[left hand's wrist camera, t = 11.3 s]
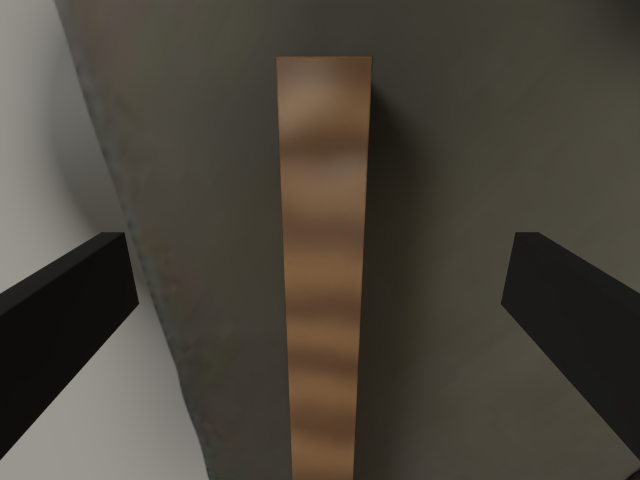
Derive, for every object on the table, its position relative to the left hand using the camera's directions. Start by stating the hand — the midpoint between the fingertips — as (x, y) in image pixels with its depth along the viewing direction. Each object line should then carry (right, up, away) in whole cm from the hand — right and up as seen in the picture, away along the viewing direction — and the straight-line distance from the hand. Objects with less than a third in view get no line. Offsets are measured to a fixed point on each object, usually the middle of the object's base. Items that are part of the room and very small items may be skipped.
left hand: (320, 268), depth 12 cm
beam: (0, -23, +32) cm, 40 cm away
